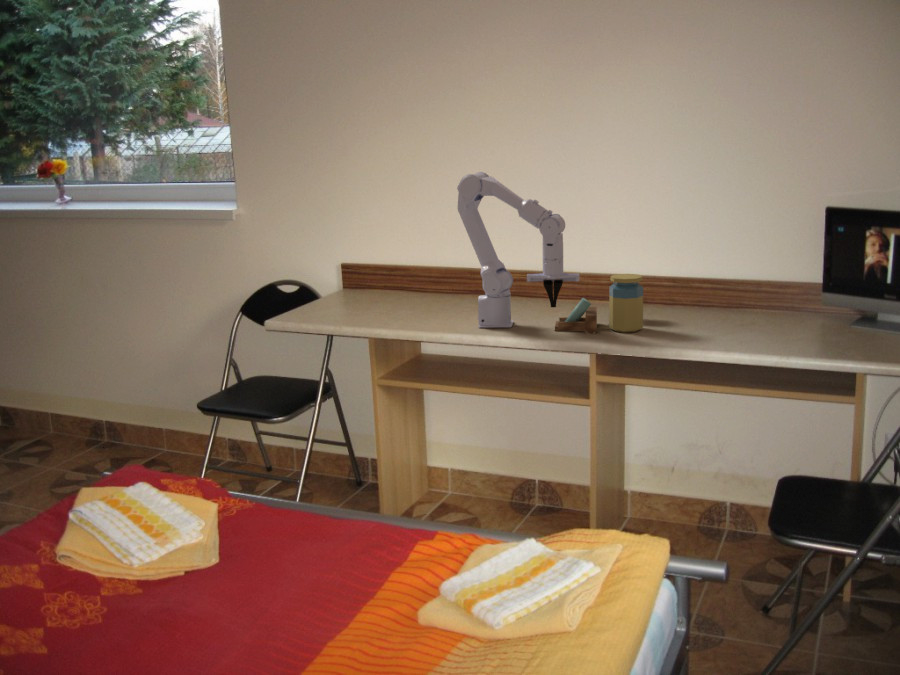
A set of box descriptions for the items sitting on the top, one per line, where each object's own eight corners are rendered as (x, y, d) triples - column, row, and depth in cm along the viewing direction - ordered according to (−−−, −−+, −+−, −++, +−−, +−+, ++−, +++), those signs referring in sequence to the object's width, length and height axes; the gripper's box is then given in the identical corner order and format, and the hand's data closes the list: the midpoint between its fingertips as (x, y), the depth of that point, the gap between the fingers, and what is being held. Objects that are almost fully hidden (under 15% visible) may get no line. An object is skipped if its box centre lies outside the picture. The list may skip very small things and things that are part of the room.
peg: (564, 323, 261) (582, 299, 259) (564, 320, 264) (582, 296, 262) (573, 329, 261) (591, 305, 259) (573, 326, 264) (590, 302, 262)
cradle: (554, 332, 258) (554, 316, 257) (556, 323, 269) (556, 307, 268) (596, 332, 256) (596, 315, 255) (596, 323, 268) (596, 306, 266)
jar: (641, 334, 253) (642, 279, 249) (607, 333, 255) (607, 279, 252) (644, 326, 262) (644, 273, 258) (611, 325, 264) (611, 273, 261)
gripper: (525, 261, 256) (526, 309, 260) (578, 260, 254) (579, 309, 257) (527, 257, 263) (528, 304, 266) (579, 256, 261) (579, 304, 264)
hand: (553, 306), depth 262 cm, fingers closed
